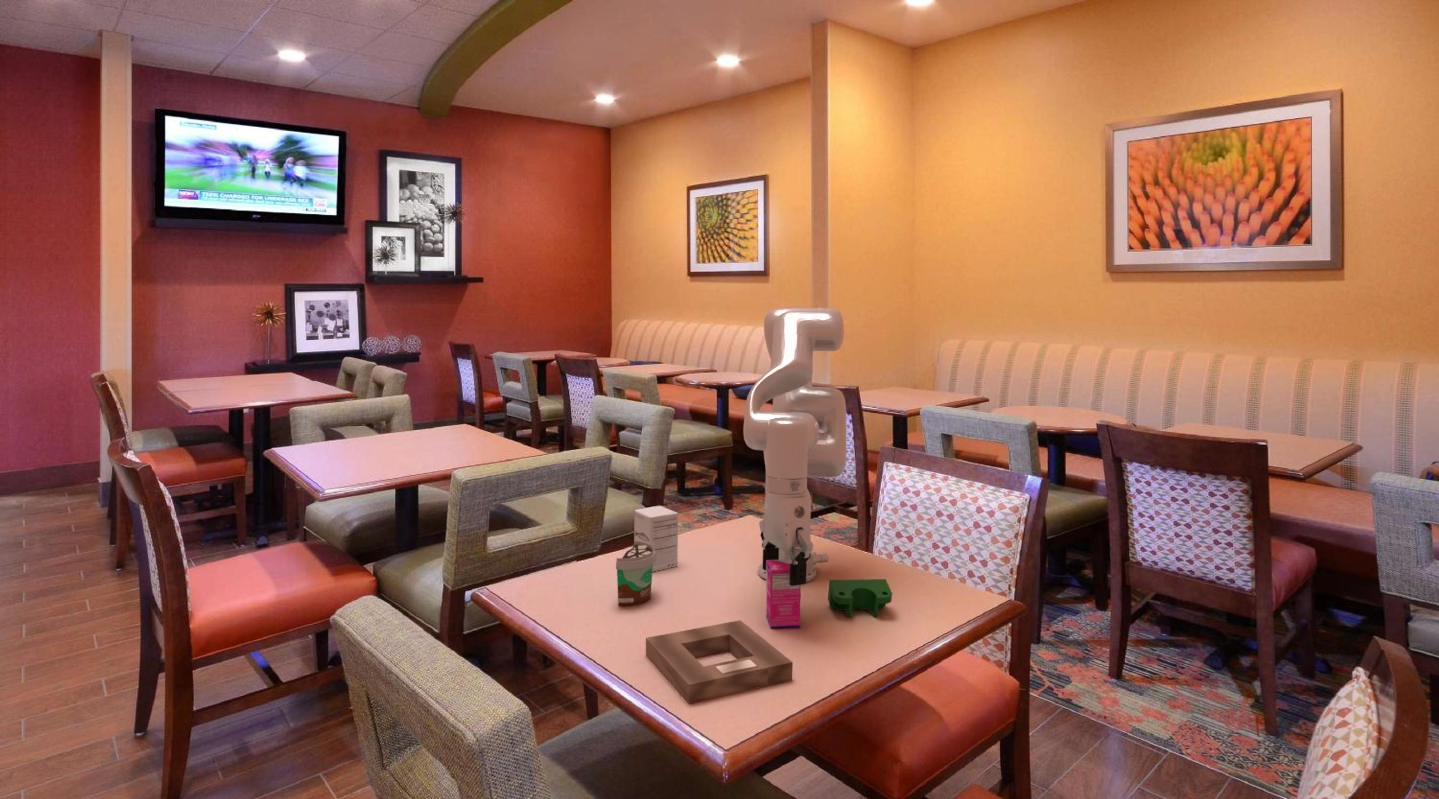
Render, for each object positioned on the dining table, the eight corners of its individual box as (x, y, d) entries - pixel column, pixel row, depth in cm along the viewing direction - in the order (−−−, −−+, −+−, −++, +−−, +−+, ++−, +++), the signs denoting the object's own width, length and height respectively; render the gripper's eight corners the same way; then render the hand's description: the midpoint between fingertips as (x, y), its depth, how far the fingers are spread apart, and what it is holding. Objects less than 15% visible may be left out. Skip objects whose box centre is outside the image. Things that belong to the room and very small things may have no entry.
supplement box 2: (764, 616, 154) (766, 558, 152) (795, 616, 154) (797, 558, 153) (769, 629, 148) (770, 569, 147) (801, 629, 149) (802, 568, 147)
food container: (646, 611, 155) (646, 561, 154) (615, 608, 157) (615, 559, 155) (663, 588, 167) (663, 542, 166) (634, 586, 169) (634, 539, 167)
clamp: (841, 637, 156) (826, 601, 152) (835, 618, 161) (821, 582, 158) (900, 616, 155) (887, 579, 151) (892, 597, 160) (879, 561, 157)
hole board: (740, 636, 145) (740, 619, 145) (792, 679, 129) (792, 660, 129) (645, 654, 137) (645, 636, 137) (688, 703, 121) (689, 683, 121)
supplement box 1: (633, 564, 182) (633, 509, 181) (661, 557, 187) (661, 504, 185) (650, 573, 176) (650, 517, 175) (678, 566, 181) (679, 512, 179)
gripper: (830, 493, 141) (827, 588, 143) (780, 475, 157) (777, 561, 159) (793, 496, 138) (790, 594, 140) (745, 478, 153) (743, 565, 155)
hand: (783, 576), depth 149 cm, fingers open, 9 cm apart
